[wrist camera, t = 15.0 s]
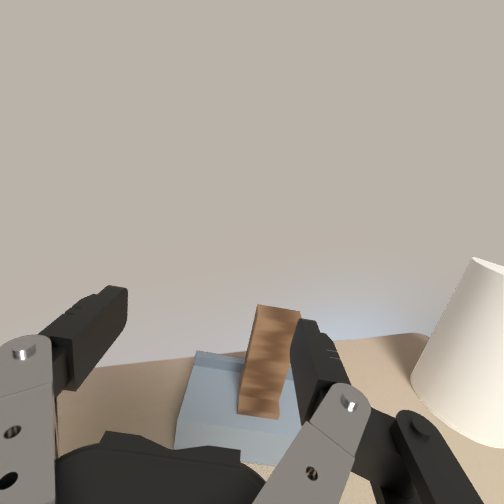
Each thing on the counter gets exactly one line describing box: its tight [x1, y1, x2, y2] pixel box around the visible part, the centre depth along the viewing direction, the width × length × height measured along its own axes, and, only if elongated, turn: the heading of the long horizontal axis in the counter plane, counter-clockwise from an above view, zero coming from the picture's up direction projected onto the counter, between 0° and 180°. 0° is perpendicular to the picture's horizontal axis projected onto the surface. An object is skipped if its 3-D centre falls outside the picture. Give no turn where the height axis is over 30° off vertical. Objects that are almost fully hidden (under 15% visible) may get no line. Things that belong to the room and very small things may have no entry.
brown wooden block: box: [237, 304, 301, 420], centre depth 34 cm, size 6×6×14 cm
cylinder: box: [410, 257, 504, 448], centre depth 46 cm, size 17×17×28 cm
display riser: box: [174, 351, 302, 466], centre depth 37 cm, size 20×10×8 cm, turn 89°
